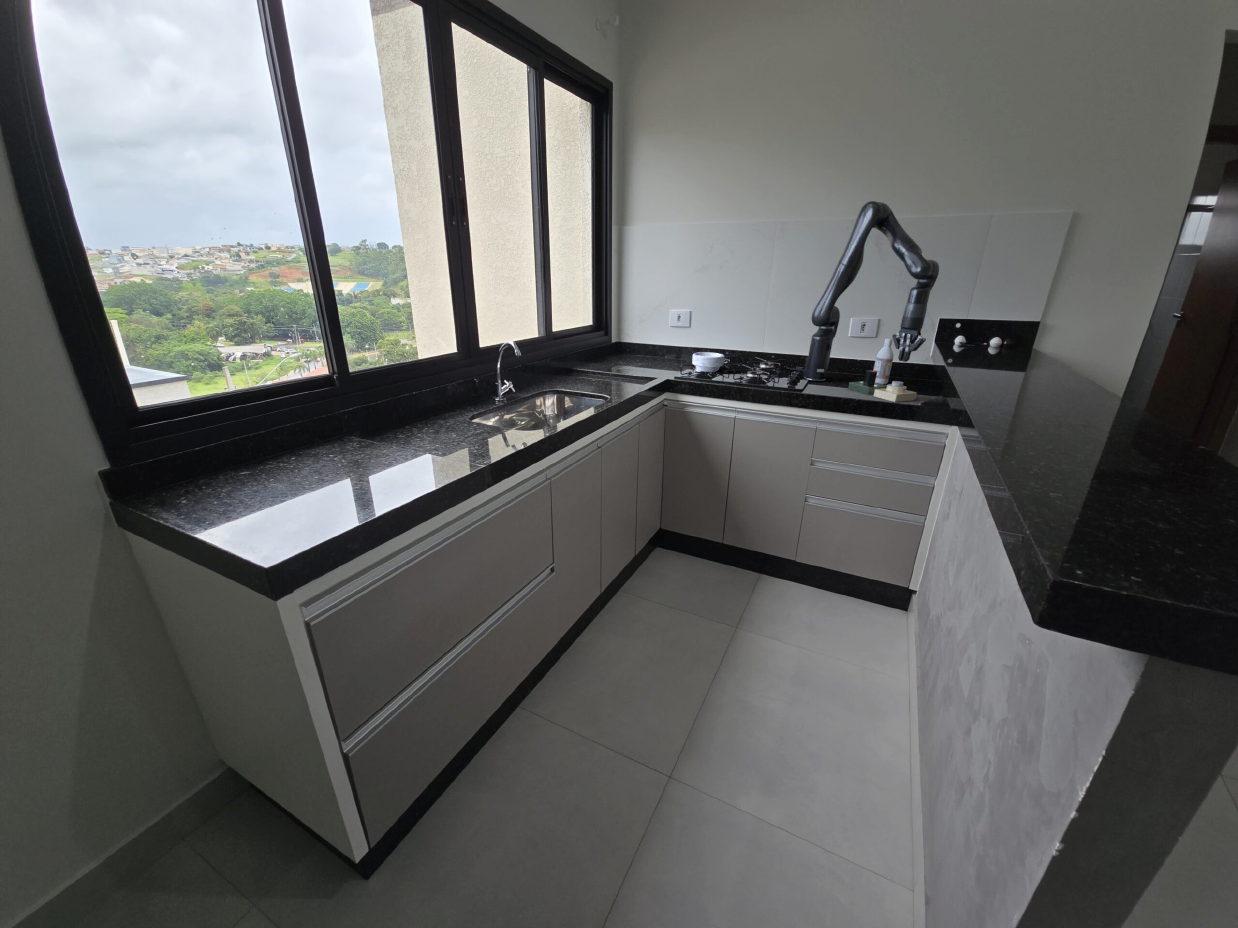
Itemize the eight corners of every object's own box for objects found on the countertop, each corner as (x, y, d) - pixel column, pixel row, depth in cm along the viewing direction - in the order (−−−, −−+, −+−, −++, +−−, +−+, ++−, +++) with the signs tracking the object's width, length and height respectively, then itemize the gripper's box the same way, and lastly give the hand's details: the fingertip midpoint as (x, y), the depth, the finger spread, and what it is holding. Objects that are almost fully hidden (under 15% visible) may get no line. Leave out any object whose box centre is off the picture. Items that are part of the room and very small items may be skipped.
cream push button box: (873, 396, 207) (876, 384, 206) (893, 394, 212) (896, 382, 210) (895, 402, 199) (898, 389, 197) (915, 399, 204) (918, 387, 202)
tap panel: (847, 389, 218) (849, 382, 217) (867, 387, 223) (868, 380, 222) (867, 394, 210) (868, 387, 209) (887, 392, 215) (888, 385, 214)
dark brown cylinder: (860, 383, 216) (863, 369, 214) (868, 382, 218) (871, 369, 216) (869, 385, 213) (872, 371, 211) (876, 384, 214) (879, 371, 212)
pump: (889, 386, 205) (890, 381, 204) (895, 385, 206) (896, 380, 206) (897, 388, 201) (899, 383, 201) (904, 387, 203) (905, 382, 202)
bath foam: (882, 385, 230) (892, 340, 223) (867, 382, 235) (877, 338, 228) (890, 383, 233) (900, 339, 226) (876, 380, 239) (886, 337, 232)
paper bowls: (725, 373, 239) (727, 356, 236) (693, 373, 239) (694, 356, 237) (720, 368, 253) (721, 352, 251) (690, 367, 254) (691, 351, 251)
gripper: (937, 317, 190) (925, 363, 196) (904, 314, 201) (894, 358, 207) (924, 317, 187) (912, 364, 193) (891, 314, 198) (881, 358, 204)
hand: (903, 361), depth 200 cm, fingers closed
